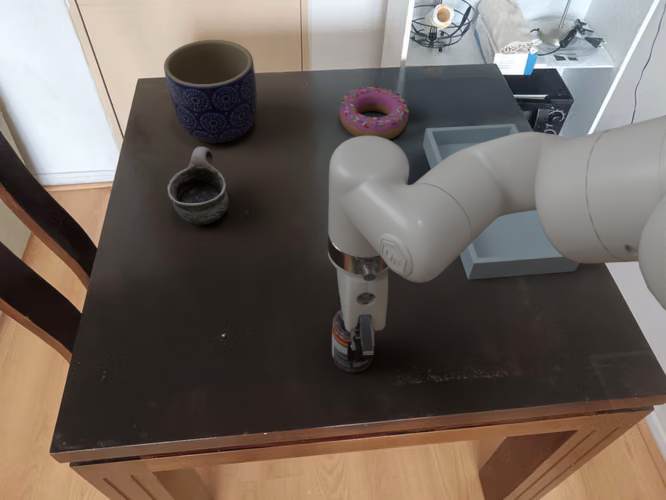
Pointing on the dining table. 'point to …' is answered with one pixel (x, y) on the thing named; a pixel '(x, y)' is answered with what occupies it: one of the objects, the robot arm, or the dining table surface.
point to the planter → (212, 89)
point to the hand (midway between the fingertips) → (354, 327)
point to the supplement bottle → (345, 346)
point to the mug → (199, 190)
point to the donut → (374, 101)
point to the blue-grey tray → (506, 231)
